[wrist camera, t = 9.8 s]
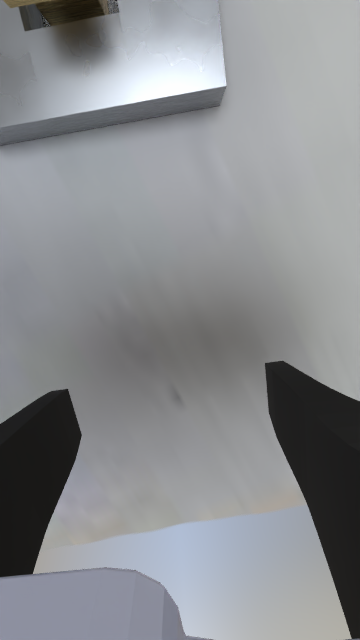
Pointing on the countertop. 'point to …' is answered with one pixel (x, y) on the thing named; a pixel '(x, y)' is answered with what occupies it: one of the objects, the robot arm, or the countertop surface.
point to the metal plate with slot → (107, 67)
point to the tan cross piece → (65, 9)
